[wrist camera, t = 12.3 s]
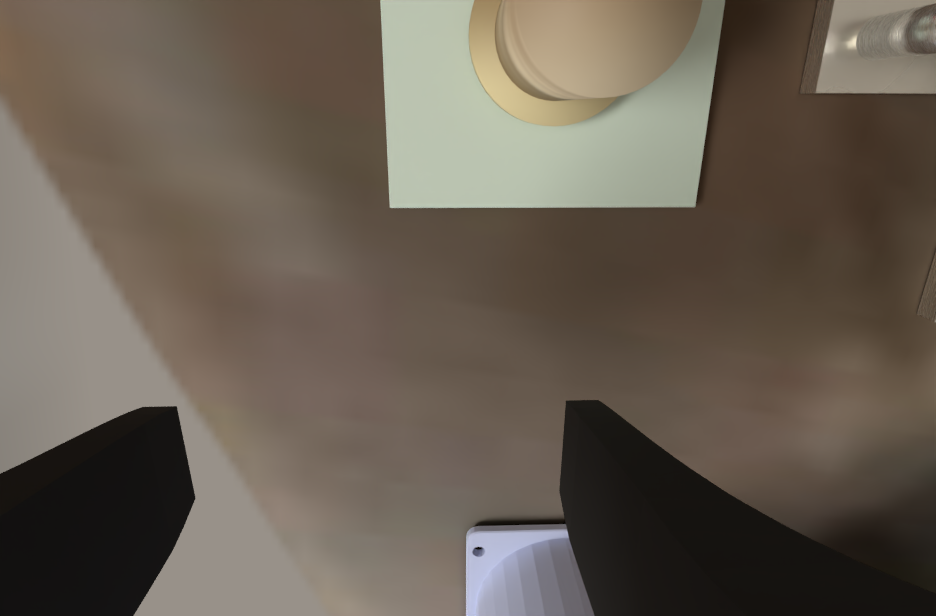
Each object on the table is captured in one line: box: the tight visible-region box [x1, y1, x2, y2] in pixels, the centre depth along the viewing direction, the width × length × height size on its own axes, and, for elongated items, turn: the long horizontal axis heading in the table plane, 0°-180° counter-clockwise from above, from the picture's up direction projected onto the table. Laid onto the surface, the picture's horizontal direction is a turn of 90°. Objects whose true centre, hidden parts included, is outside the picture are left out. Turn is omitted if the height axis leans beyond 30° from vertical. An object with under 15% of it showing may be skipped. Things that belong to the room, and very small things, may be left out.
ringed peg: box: [469, 0, 702, 126], centre depth 13 cm, size 5×5×6 cm
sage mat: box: [381, 0, 725, 208], centre depth 16 cm, size 10×10×1 cm
